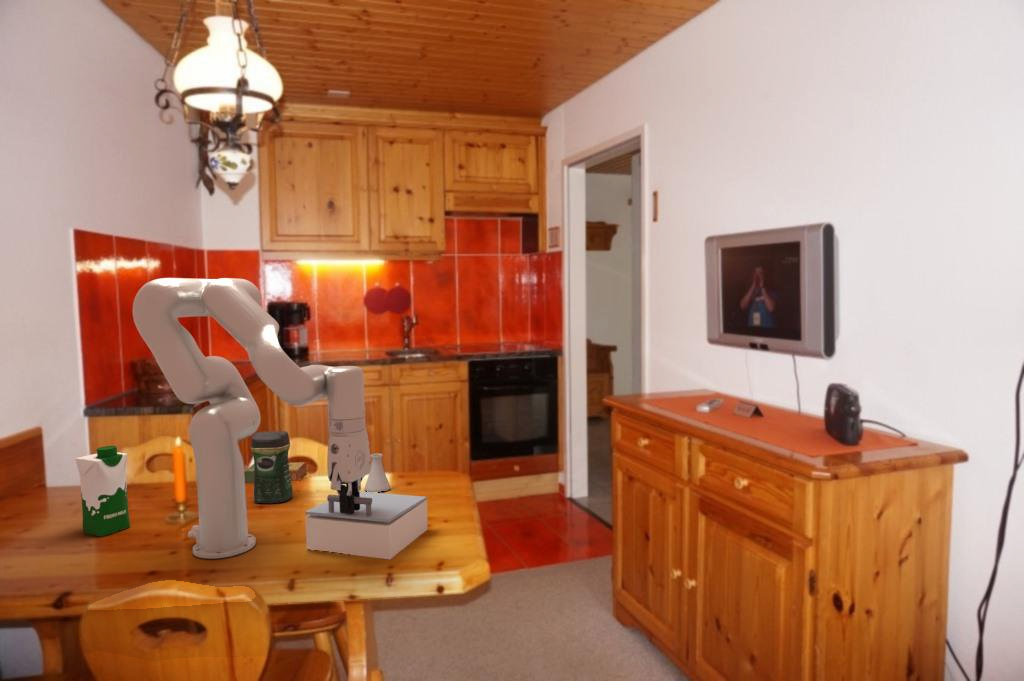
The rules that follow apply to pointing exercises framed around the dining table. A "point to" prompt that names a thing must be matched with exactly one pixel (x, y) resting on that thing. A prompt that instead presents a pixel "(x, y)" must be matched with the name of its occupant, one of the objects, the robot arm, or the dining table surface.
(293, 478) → the carton
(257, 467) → the coffee jar
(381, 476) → the flask
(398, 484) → the dining table surface
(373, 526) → the box body
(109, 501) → the milk carton
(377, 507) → the lid flap
